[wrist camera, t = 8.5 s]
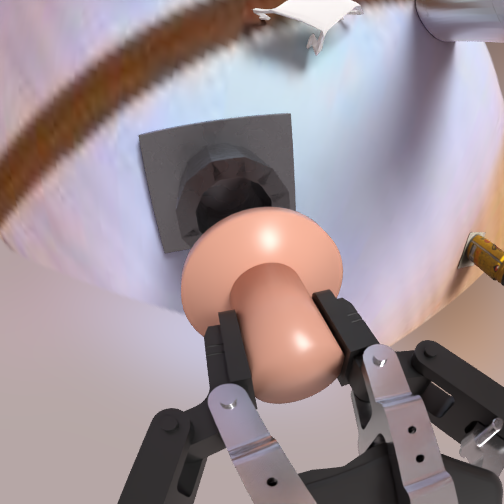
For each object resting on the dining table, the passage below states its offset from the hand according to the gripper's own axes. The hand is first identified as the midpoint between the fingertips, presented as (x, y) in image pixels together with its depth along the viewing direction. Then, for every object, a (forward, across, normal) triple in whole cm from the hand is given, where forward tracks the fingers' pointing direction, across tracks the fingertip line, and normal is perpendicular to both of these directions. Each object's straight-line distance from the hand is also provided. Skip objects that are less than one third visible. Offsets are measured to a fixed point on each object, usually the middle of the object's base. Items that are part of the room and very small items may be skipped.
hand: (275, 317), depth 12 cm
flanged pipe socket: (+22, 0, 0) cm, 22 cm away
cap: (+5, 0, 0) cm, 5 cm away
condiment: (+23, -50, +19) cm, 58 cm away
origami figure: (+23, -12, -19) cm, 32 cm away
